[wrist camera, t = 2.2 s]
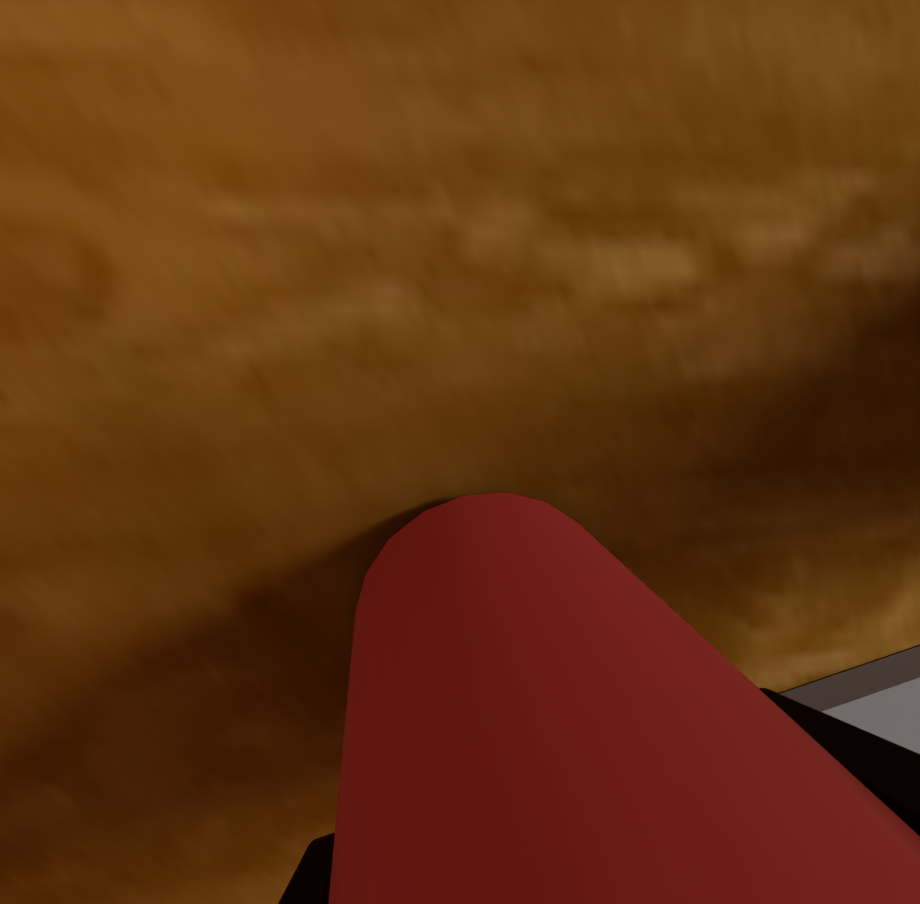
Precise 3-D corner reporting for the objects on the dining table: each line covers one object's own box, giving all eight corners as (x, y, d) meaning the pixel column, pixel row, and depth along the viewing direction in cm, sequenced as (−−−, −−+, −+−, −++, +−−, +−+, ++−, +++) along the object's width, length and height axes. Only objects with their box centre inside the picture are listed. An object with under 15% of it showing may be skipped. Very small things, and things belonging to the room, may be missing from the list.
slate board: (1107, 581, 17) (1151, 596, 16) (1072, 920, 21) (1107, 949, 20) (637, 742, 15) (654, 769, 14) (697, 1076, 19) (714, 1116, 18)
